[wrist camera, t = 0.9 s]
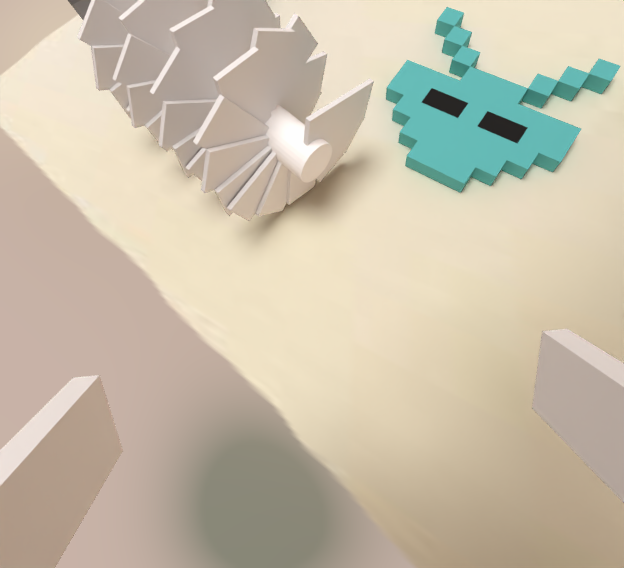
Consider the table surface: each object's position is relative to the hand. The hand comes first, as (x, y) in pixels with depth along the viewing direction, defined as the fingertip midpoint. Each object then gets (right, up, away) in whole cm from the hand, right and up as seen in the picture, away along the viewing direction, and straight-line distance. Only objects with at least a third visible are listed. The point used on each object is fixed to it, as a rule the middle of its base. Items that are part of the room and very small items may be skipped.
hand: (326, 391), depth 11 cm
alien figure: (+18, +23, +31) cm, 43 cm away
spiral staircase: (-8, +20, +34) cm, 40 cm away
